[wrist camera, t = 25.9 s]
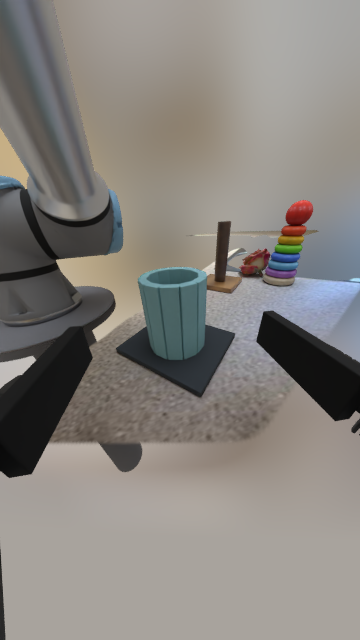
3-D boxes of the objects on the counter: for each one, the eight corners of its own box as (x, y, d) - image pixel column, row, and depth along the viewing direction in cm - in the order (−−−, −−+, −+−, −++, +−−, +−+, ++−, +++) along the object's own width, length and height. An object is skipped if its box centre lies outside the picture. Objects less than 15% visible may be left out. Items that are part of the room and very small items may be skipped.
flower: (278, 268, 50) (268, 245, 50) (274, 269, 43) (263, 242, 43) (248, 282, 57) (239, 261, 57) (241, 285, 50) (231, 261, 50)
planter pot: (140, 347, 23) (123, 281, 18) (171, 321, 29) (166, 265, 24) (186, 369, 19) (183, 293, 14) (212, 334, 25) (217, 270, 20)
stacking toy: (263, 285, 44) (283, 200, 34) (261, 276, 50) (277, 203, 40) (296, 287, 41) (329, 197, 31) (289, 278, 48) (315, 200, 38)
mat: (117, 352, 24) (115, 348, 23) (165, 316, 32) (164, 312, 32) (200, 397, 17) (201, 393, 17) (234, 337, 25) (235, 333, 25)
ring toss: (195, 287, 45) (196, 223, 37) (210, 277, 52) (213, 221, 44) (230, 293, 40) (240, 221, 32) (241, 281, 47) (251, 219, 39)
